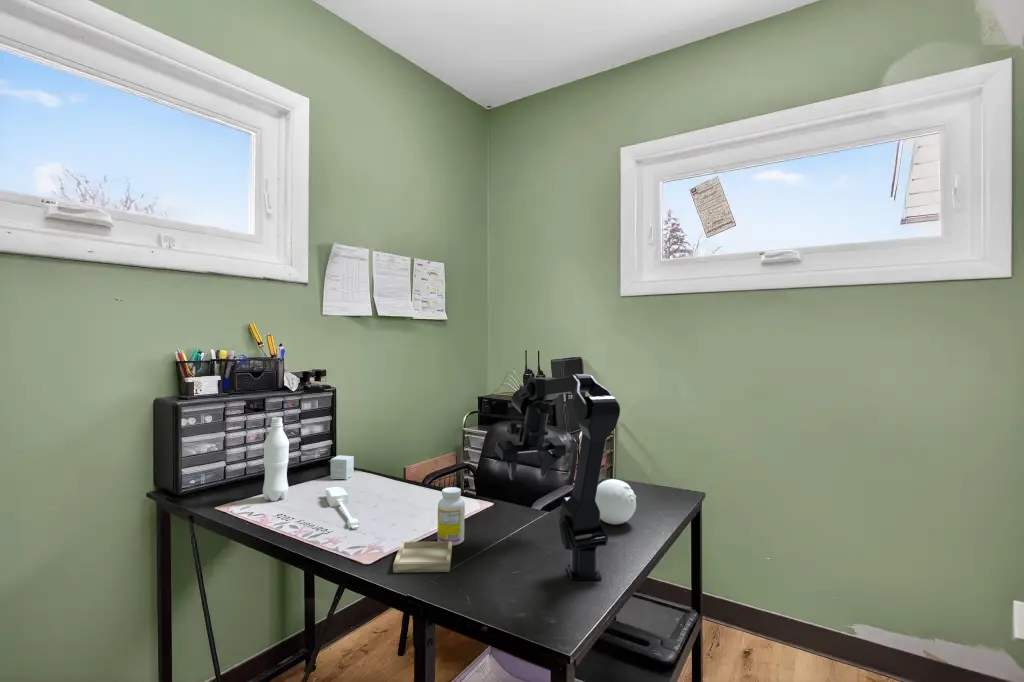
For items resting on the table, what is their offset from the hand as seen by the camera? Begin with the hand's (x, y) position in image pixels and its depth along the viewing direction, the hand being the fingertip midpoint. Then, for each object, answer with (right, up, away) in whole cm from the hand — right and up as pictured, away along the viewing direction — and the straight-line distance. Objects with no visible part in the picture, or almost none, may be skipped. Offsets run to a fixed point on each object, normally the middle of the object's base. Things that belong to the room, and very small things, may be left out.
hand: (526, 477), depth 134 cm
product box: (-65, -13, +47) cm, 81 cm away
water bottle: (-77, -13, +22) cm, 81 cm away
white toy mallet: (-53, -13, +12) cm, 56 cm away
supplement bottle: (-19, -14, -9) cm, 25 cm away
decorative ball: (+24, -15, +6) cm, 29 cm away
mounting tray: (-24, -13, -20) cm, 34 cm away
